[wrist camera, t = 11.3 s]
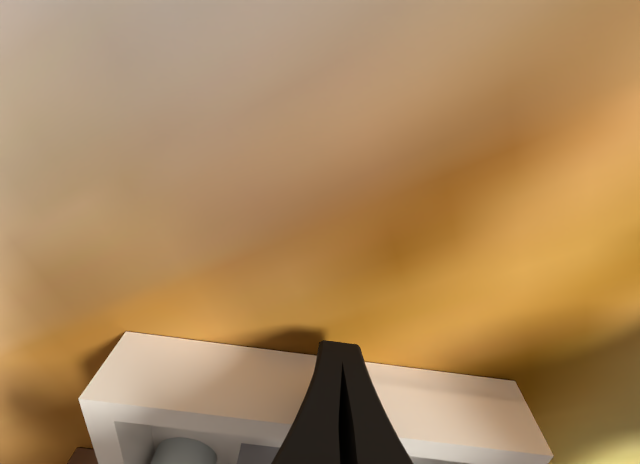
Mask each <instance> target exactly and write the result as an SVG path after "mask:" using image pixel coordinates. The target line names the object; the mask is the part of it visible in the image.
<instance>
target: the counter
mask: <svg viewBox="0 0 640 464" xmlns="http://www.w3.org/2000/svg"><path fill="white" fill-rule="evenodd" d="M67 464H98V461H97V458H96V454H95V451H94V449H86V448H77V449H76V450H75V452H74V454H73V455H72V457H71V458H70V460H69V462H68V463H67Z"/></svg>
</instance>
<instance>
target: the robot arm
mask: <svg viewBox="0 0 640 464" xmlns="http://www.w3.org/2000/svg"><path fill="white" fill-rule="evenodd" d="M271 464H414V463H413V462H412V460H411V458H410V457H409V455H408V453H407V452H406V450H405V448H404V447H403V445H402V443H401V441H400V439H399V438H398V436H397V434H396V432H395V430H394V428H393V426H392V424H391V422H390V420H389V418H388V416H387V414H386V412H385V410H384V408H383V406H382V404H381V401H380V399H379V397H378V395H377V392H376V390H375V388H374V385H373V383H372V381H371V378H370V375H369V373H368V370H367V367H366V365H365V362H364V359H363V356H362V352H361V349H360V347H359V346H358V345H356V344H348V343H341V342H333V341H325V340H323V341H321V342H319V348H318V353H317V358H316V363H315V368H314V373H313V376H312V379H311V381H310V384H309V387H308V390H307V392H306V395H305V397H304V400H303V402H302V404H301V406H300V409H299V411H298V413H297V415H296V418H295V420H294V422H293V424H292V426H291V428H290V430H289V432H288V434H287V436H286V438H285V439H284V441H283V443H282V445H281V447H280V449H279V450H278V452H277V454H276V456H275V457H274V459H273V461H272V463H271Z"/></svg>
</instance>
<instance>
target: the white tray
mask: <svg viewBox="0 0 640 464" xmlns="http://www.w3.org/2000/svg"><path fill="white" fill-rule="evenodd" d="M316 358H317V356H315V355H307V354H299V353H291V352H283V351H276V350H268V349H260V348H252V347H244V346H236V345H228V344H221V343H213V342H205V341H197V340H189V339H181V338H174V337H166V336H158V335H150V334H142V333H134V332H125V333H124V335H123V336H122V338H121V339H120V340H119V342H118V343H117V345H116V346H115V348H114V349H113V350H112V352H111V353H110V355H109V356H108V357H107V359H106V360H105V362H104V363H103V364H102V366H101V367H100V369H99V370H98V372H97V373H96V374H95V376H94V377H93V379H92V380H91V381H90V383H89V384H88V386H87V387H86V389H85V390H84V391H83V393H82V394H81V396H80V397H79V398H78V400H79V403H80V406H81V409H82V412H83V416H84V419H85V422H86V425H87V429H88V432H89V435H90V438H91V441H92V445H93V448H94V451H95V454H96V458H97V461H98V464H271V463H272V461H273V459H274V457H275V456H276V454H277V452H278V450H279V449H280V447H281V445H282V443H283V441H284V439H285V438H286V436H287V434H288V432H289V430H290V428H291V426H292V424H293V422H294V420H295V418H296V415H297V413H298V411H299V409H300V406H301V404H302V402H303V400H304V397H305V395H306V392H307V390H308V387H309V384H310V381H311V379H312V376H313V373H314V368H315V363H316ZM365 365H366V367H367V370H368V373H369V375H370V378H371V381H372V383H373V385H374V388H375V390H376V392H377V395H378V397H379V399H380V401H381V404H382V406H383V408H384V410H385V412H386V414H387V416H388V418H389V420H390V422H391V424H392V426H393V428H394V430H395V432H396V434H397V436H398V438H399V439H400V441H401V443H402V445H403V447H404V448H405V450H406V452H407V453H408V455H409V457H410V458H411V460H412V462H413V463H414V464H548V463H549V462H550V460H551V459H552V458H553V457H554V455H553V454H552V452H551V450H550V448H549V446H548V444H547V442H546V440H545V438H544V436H543V434H542V432H541V430H540V428H539V426H538V425H537V423H536V421H535V419H534V417H533V415H532V413H531V411H530V409H529V407H528V405H527V403H526V401H525V399H524V397H523V396H522V394H521V392H520V390H519V388H518V386H517V384H516V382H515V381H511V380H503V379H495V378H487V377H480V376H472V375H464V374H456V373H448V372H440V371H432V370H425V369H417V368H409V367H401V366H393V365H385V364H378V363H370V362H365Z"/></svg>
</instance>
